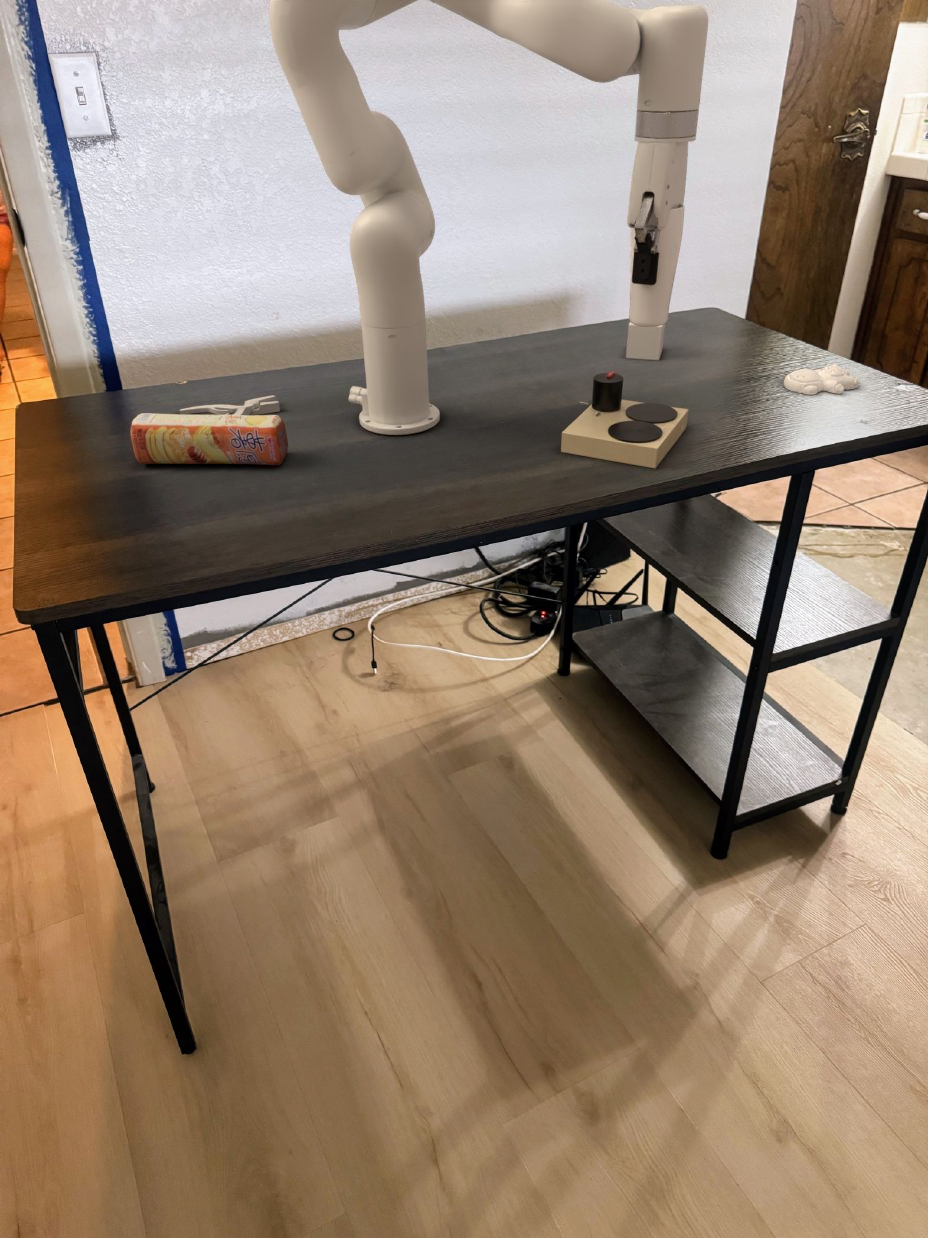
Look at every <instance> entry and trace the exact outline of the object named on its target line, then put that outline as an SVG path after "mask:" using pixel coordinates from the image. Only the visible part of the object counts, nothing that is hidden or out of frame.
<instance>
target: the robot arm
mask: <svg viewBox="0 0 928 1238" xmlns="http://www.w3.org/2000/svg"><path fill="white" fill-rule="evenodd" d="M428 1H429V2H431V3H433V4H436V5H438V6H440V7H441V8H443V9H446V10H448V11H450V12H452V13H454V14H455V15H458V16H460V17H462V18H464V19H465V20H467V21H470V22H472V23H473V24H476V25H477V26H479V27H481V28H483V29H485V30H487V31H489V32H491V33H493V34H494V35H496V36H498V37H500V38H502V39H506V40H508V41H511V42H513V43H515V44H516V45H518V46H521V47H523V48H525V49H527V51H528V50H529V51H530V52H532V53H534V54H536V55H538V56H540V57H542V58H543V59H545V60H548V61H550V62H552V63H554V64H556V65H557V66H560V67H562V68H564V69H566V70H568V71H569V72H572V73H574V74H576V75H577V76H580V77H582V78H584V79H586V80H590V82H591V81H592V82H595V83H600V84H605V83H611V82H614V81H616V80H618V79H620V78H622V77H627V76H633V75H638V87H637V99H636V111H635V112H636V114H635V126H634V142H637V146H636V149H635V155H634V162H633V166H632V167H633V168H632V174H631V181H630V182H631V183H630V190H629V200H628V206H627V207H628V208H627V218H626V225H627V226H628V227H629V228H634V227H635V234H636V235H635V236H636V237H635V245H634V259H633V272H632V283H634V284H643V285H654V284H656V281H657V270H658V260H659V252H656V251H657V247H658V242H659V237H660V230H661V229H663V228H665V227H666V225H667V222H668V218H669V214H670V210H671V209H676V208H679V207H680V203H681V204H683V205H684V202H685V194H686V186H687V175H688V174H687V173H688V159H689V142H694V141H696V139H697V131H698V122H699V113H700V104H701V94H702V85H703V75H704V66H705V58H706V49H707V39H708V32H709V15H708V12H707V10H706V8H704V7H702V6H701V5H694V4H693V5H692V4H691V5H689V4H686V5H683V4H682V5H679V4H678V5H663V6H656V7H653V8H651V9H642V8H633V7H632V8H631V7H626V6H619V5H616V4H614V3H612V2H609V1H608V0H428ZM415 2H418V0H270V2H269V12H268V13H269V16H268V17H269V30H270V35H271V40H272V44H273V49H274V50H275V51H274V52H275V54H276V57H277V60H278V62H279V64H280V66H281V69H282V71H283V74H284V76H285V78H286V80H287V83H288V85H289V87H290V89H291V91H292V94H293V97H294V99H295V102H296V104H297V106H298V108H299V111H300V114H301V116H302V119H303V121H304V124H305V126H306V128H307V129H306V130H307V131H308V133H309V135H310V136H309V137H310V138H311V140H312V143H313V145H314V148H315V150H316V152H317V154H318V157H319V159H320V162H321V164H322V167H323V169H324V172H325V174H326V176H327V177H328V179H329V181H330V182H331V184H332V185H333V186H334V187H335V188H336V189H337V190H338V191H339V192H341V193H343V194H346V195H349V196H359V197H360V199H361V201H362V204H363V207H364V208H363V209H362V210H361V211H360V212H359V213H358V215H357V216H356V218H355V220H354V222H353V224H352V227H351V230H350V235H349V254H350V259H351V265H352V268H353V273H354V278H355V283H356V284H355V285H356V290H357V296H358V297H357V298H358V304H359V305H358V306H359V307H358V308H359V317H360V324H361V337H362V349H363V360H364V371H365V372H364V373H365V383H366V385H365V386H366V388H365V387H361V386H357V385H352V386H351V388H350V390H349V395H348V402H349V403H350V404H355V405H361V407H362V410H361V412H360V413H359V416H358V420H359V424H360V426H361V427H362V428H363V429H365V430H367V431H369V432H372V433H375V434H379V435H387V436H405V435H412V434H413V435H414V434H418V433H422V432H424V431H427V430H429V429H432V428H433V427H435V426H436V425H437V424H438V423H439V422H440V420H441V412H440V409H439V408H438V407H437V406H435V405H434V404H432V403H430V390H429V389H430V388H429V368H428V367H429V365H428V345H427V323H426V309H425V308H426V305H425V293H424V286H423V279H422V273H421V266H420V265H421V263H420V257H421V256H422V255H424V253H426V252H427V251H428V249H429V248H430V246H431V245H432V243H433V240H434V237H435V233H436V220H435V215H434V211H433V208H432V204H431V201H430V199H429V197H428V194H427V191H426V189H425V186H424V183H423V181H422V178H421V175H420V173H419V170H418V168H417V165H416V163H415V160H414V158H413V155H412V152H411V149H410V148H409V145H408V142H407V140H406V137H405V136H404V134H403V133H402V131H401V129H400V128H399V126H398V125H397V123H395V121H393V120H392V119H391V118H390V117H389V116H388V115H385V114H384V113H382V112H379V111H375V110H371V108H370V106H369V104H368V102H367V99H366V97H365V95H364V92H363V90H362V88H361V84H360V81H359V78H358V76H357V73H356V71H355V68H354V67H353V65H352V62H351V61H350V59H349V58H348V55H347V54H346V52H345V51H344V48H343V47H342V43H341V40H340V31H350V30H357V29H360V28H363V27H366V26H369V25H371V24H373V23H375V22H377V21H378V20H380V19H383V18H385V17H387V16H388V15H390V14H392V13H394V12H397V11H399V10H401V9H403V8H405V7H408V6H409V5H411V4H414V3H415ZM652 211H654V213H655V219H656V220H658V221H657V224H656V226H648V222H649V219H650V216H651V213H652ZM634 225H635V226H634ZM648 232H654V234H653V239H652V236H651V234H650V233H648Z"/></svg>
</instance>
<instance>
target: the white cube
mask: <svg viewBox="0 0 928 1238" xmlns="http://www.w3.org/2000/svg"><path fill="white" fill-rule="evenodd" d="M665 329H666V323H665V324H663V325H661V326H657V327H642V326H637V325H634V324H632V323H631V322H630V321H629V323H628V328H627V337H626V338H627V339H626V351H625V359H633V360H634V359H637V360H648V361H649V360H651V361H660V358H661V355H662V352H663V349H664V347H663V346H664V339H665Z"/></svg>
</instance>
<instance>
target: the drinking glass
mask: <svg viewBox="0 0 928 1238" xmlns="http://www.w3.org/2000/svg"><path fill="white" fill-rule="evenodd" d="M657 221H658V220H656V219H655V213H654V211H652V213H651V216H650V219H649V222H648V226H656V224H657ZM684 223H685V204H684V203H683V204H681V203H680V207H679V208H676V209H671V210H670V214H669V218H668V222H667V225H666V227H665V228H663V229H661V230H660V237H659V242H658V247H657V251H656V252H659V260H658V270H657V281H656V284H654V285H643V284H634V283H632V272H633V259H634V245H635V237H636V236H635V235H636V234H635V227H634V228H630V227H629V228H630V231H629V308H628V309H629V311H628V320H629V323H630V322H631V323H632V324H634V325H637V326H642V327H657V326H661V325H663V324H665V325H666V323H667V322H668V321H669V313H670V305H671V299H672V293H673V290H674V289H673V288H674V282H675V278H676V272H677V266H678V262H679V256H680V251H681V247H682V239H683V233H684ZM634 226H635V225H634ZM648 233H650V234H651V236H652V239H653V234H654V232H648Z"/></svg>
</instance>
